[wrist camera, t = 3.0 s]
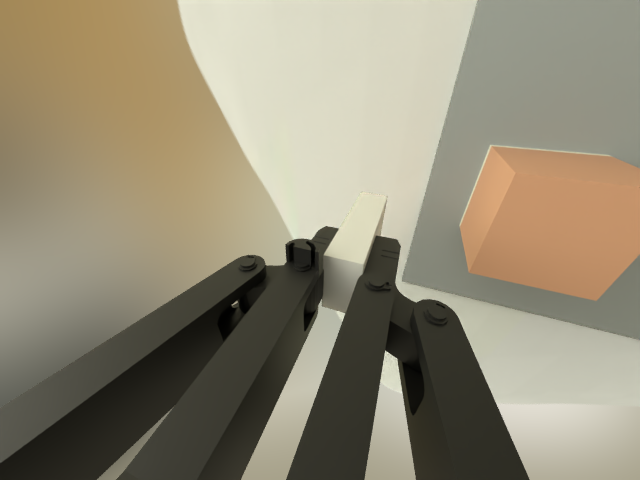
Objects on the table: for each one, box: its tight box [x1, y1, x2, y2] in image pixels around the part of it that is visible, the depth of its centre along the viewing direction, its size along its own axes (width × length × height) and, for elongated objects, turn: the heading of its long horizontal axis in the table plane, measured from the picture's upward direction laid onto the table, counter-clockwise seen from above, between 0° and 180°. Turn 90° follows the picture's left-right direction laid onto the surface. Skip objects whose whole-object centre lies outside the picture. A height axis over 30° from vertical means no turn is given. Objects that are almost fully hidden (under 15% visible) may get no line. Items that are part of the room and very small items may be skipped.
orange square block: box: [459, 145, 640, 301], centre depth 14 cm, size 6×6×6 cm
